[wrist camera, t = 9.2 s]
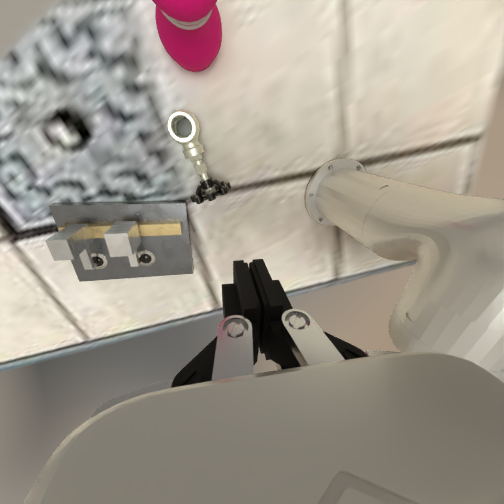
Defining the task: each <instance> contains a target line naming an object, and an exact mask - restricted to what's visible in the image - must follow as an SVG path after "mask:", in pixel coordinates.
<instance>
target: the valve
mask: <svg viewBox="0 0 504 504" xmlns="http://www.w3.org/2000/svg"><path fill="white" fill-rule="evenodd" d="M181 119H188V120H189V121H190V122H191V125H192V133H191V135H190V136H189V137H187V138H186V137H183V136H182V135H180V133H179V132H178V129H177V125H178V122H179V121H180V120H181ZM166 125H167V127H168V130H169V132H170V134H171V136H172V138H173V140H175V141H177V142H178V143H180V144H182V145H183V147H184V151H183V153H184V155H185V158H190V159H191V161H192V162H194V163H195V165H194V168H195V170H196V173H197V175H200V176H201V178H202V180H201V181H200V184H201V185H199V186H198V187H197V190H196V194H197V197H195V196H194V195H191V196H190V197H191V200H192V202H196V203H197V204H200V203H202V202H204V200H207V199H208V200H209V201H212V200H214V199H216V196H218V195H225V194H227V190H229V189H231V186H230V183H229V182H226V186H225V184H224V182H223V181H222V182H219V181H217V180H212V177H209V178H208V176H207V173H206V172H207V171H208V170H207V167H206V165H205V162H202V158H203V157H202V155H201V153H203V152H205V150H204V148H203V145H202V144H201V145H200V144H199V141H198V136H199V132H200V127H199V123H198V121H197V119H196V117H195V116H194V115H193V114H192V113H190V112H188V111H186V110H177V111H176V110H175V111H174V112H173V113H172V115H171V116H170V118H169V119H168V121H167V123H166ZM214 184H216V185H217V186H215V185H214ZM202 188H203V191H201V189H202Z"/></svg>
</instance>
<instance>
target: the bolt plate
mask: <svg viewBox="0 0 504 504" xmlns="http://www.w3.org/2000/svg"><path fill="white" fill-rule="evenodd" d="M49 207H50V210H51V212H52V215H53V217H54V220H55V222H56V225H57V227H58V230H59V232H58V233H56V234H55V235H53V236H52V237H50V238H49V239H47V240H46V243H47V245H48V247H49V250H50V252H51V254H52V256H53V259H54V261H57V260H71V262H72V264H73V267H74V269H75V272H76V274H77V276H78V279H79V281H94V280H108V279H122V278H136V277H150V276H164V275H178V274H192V273H193V261H192V252H191V243H190V233H189V224H188V215H187V206H186V201H153V202H92V203H54V204H52V205H50V206H49ZM119 221H137V224H138V228H139V233H140V237H141V243H140V245H139V246H138V248H137V254H138V258H140V259H141V263H140V265H139V266H138V267H131V265H130V261H129V258H128V256H121V257H110V254H109V251H108V247H107V244H106V241H105V238H104V233H105V232H106V231H107V230H108V229H109V228H110V227H111V226H112V225H113V224H114V223H115V222H119Z"/></svg>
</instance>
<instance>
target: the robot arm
mask: <svg viewBox="0 0 504 504" xmlns="http://www.w3.org/2000/svg"><path fill="white" fill-rule="evenodd" d="M328 167H329V168H328ZM356 167H357V168H356ZM310 193H311V194H310ZM309 194H310V195H309ZM305 204H306V208H307V211H308V213H309V214H310V216H311V217H312V218H313V219H314V220H315V221H317V222H318V223H320V224H322V225H326V226H338V227H339V228H341V229H342V230H343V231H345V232H346V233H348V234H349V235H350V236H352V237H353V238H355V239H356V240H357V241H359V242H360V243H362V244H363V245H364V246H366V247H367V248H369V249H370V250H372V251H373V252H374V253H376V254H378V255H379V256H381V257H384V258H386V259H390V260H396V261H407V260H415V259H418V260H417V264H416V266H415V268H414V270H413V272H412V274H411V278H410V280H409V282H408V283H407V285H406V287H405V289H404V291H403V293H402V295H401V297H400V299H399V300H398V302H397V304H396V306H395V308H394V310H393V312H392V315H391V318H390V320H389V326H388V329H389V335H390V338H391V340H392V342H393V344H394V345H395V347H396V348H397V349H398V351H399V352H391V351H377V350H366V352H363V351H362V350H361V349H359V348H357V347H355V346H353V345H351V344H349V343H347V342H345V341H343V340H341V339H339V338H337V337H334V336H332V335H330V334H328V333H326V332H324V331H322V330H321V328H320V327H319V326H318V325H317V323H316V322H315V321H314V319H313V318H312V317H311V316H310V315H309V314H308V313H306V312H305V311H302V310H299V309H293V308H292V306H291V304H290V302H289V300H288V298H287V296H286V294H285V292H284V290H283V288H282V286H281V284H280V282H279V280H272V279H271V276H270V274H269V272H268V270H267V267H266V265H265V263H264V261H263V259H255V260H253V262H250V263H249V267H248V264H247V263H244V261H243V260H240V261H233V277H234V284H222V300H223V313H224V319H223V320H222V322H221V323H220V325H219V330H218V336H217V337H216V338H215V339H214V340H213V341H212V342H211V343H209V345H207V346H206V347H205V348H204V349H203V350H202V351H201V352H200V353H199V354H198V355H197V356H196V357H195V358H194V359H193V360H192V361H191V362H190V363H188V364H187V365H186V366H185V367H184V368H183V369H182V370H181V371H180V372H179V373H178V374H177V375H176V377H175V378H174V379H173V380H170V381H167V382H165V380H162V381H159V382H156V383H154V384H151V385H148V386H145V387H143V388H140V389H137V390H135V391H132V392H129V393H126V394H123V395H121V396H118V397H115V398H112V399H110V400H108V401H106V402H105V403H103V404H102V405H101V406H100V407H99V408H98V409H97V410H96V411H95V412H94V414H93V415H92V417H91V419H89V420H87V421H86V422H84V423H83V424H82V425H80V426H79V427H78V428H76V429H75V430H74V431H73V432H72V433H71V434H69V436H67V437H66V438H65V440H64V441H63V442H62V443H61V444H60V445H59V446H58V448H57V449H56V450H55V452H54V453H53V455H52V456H51V457H50V459H49V460H48V462H47V463H46V465H45V467H44V468H43V470H42V472H41V473H40V475H39V476H38V478H37V480H36V481H35V483H34V485H33V487H32V488H31V491H30V492H29V494H28V496H27V498H26V499H25V501H24V503H23V504H504V199H497V198H486V197H476V196H468V195H461V194H454V193H449V192H444V191H439V190H434V189H430V188H425V187H421V186H417V185H413V184H409V183H405V182H401V181H397V180H393V179H389V178H385V177H381V176H377V175H373V174H369V173H367V171H366V169H365V168H364V167H363V165H362V164H360V163H359V162H357V161H355V160H352V159H347V158H340V159H335V160H332V161H330V162H328V163H326V164H324V165H323V166H322V167H321V168H319V169H318V170H317V171H316V173H315V174H314V175H313V176H312V178H311V180H310V182H309V184H308V186H307V189H306V194H305ZM259 348H260V352H261V353H264V354H265V357H266V360H270V359H271V360H273V361H274V362H276V367H277V371H270V372H264V373H258V374H254V365H255V363H256V362H257V356H258V349H259Z"/></svg>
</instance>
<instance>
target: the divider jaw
mask: <svg viewBox="0 0 504 504" xmlns="http://www.w3.org/2000/svg"><path fill="white" fill-rule="evenodd" d="M104 238H105V241H106V244H107V247H108V251H109V254H110V257H121V256H128V258H129V261H130V265H131V267H138V266H139V265H140V263H141V259H140V258H138V254H137V248H138V246H139V245H140V243H141V237H140V233H139V228H138V224H137V221H119V222H115V223H114V224H113V225H112V226H111V227H110V228H109V229H108V230H107V231H106V232H105V233H104Z"/></svg>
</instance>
